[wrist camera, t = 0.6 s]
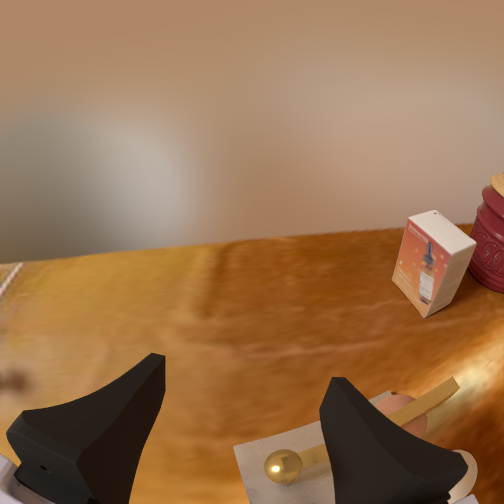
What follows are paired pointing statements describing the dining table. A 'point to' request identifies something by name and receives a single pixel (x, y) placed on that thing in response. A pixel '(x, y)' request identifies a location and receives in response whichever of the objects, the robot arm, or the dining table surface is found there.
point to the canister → (490, 237)
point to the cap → (399, 401)
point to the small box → (432, 261)
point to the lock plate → (309, 482)
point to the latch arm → (292, 464)
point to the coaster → (464, 478)
